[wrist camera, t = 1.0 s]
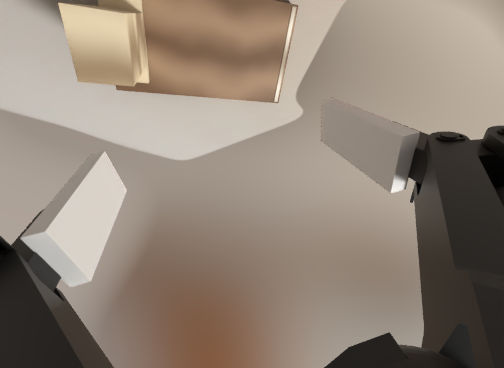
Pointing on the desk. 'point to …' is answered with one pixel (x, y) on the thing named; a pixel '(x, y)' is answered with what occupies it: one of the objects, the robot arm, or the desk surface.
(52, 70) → the desk surface
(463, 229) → the robot arm
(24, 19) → the desk surface
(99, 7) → the bracket
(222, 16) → the board
